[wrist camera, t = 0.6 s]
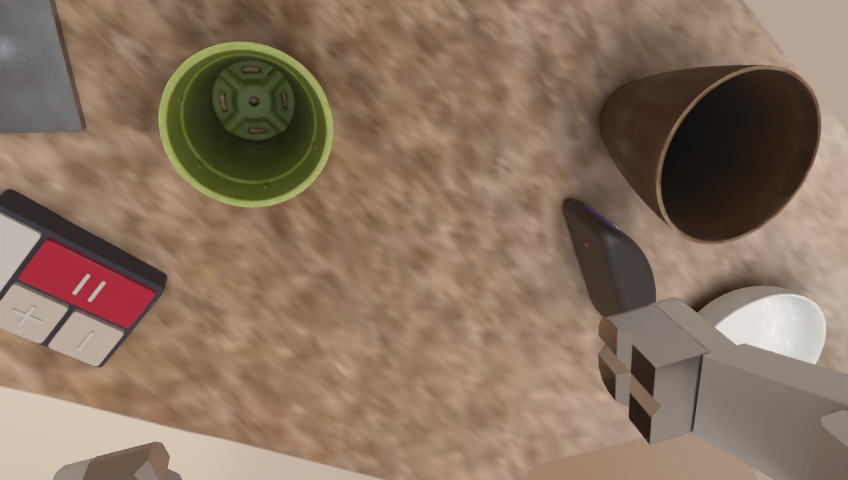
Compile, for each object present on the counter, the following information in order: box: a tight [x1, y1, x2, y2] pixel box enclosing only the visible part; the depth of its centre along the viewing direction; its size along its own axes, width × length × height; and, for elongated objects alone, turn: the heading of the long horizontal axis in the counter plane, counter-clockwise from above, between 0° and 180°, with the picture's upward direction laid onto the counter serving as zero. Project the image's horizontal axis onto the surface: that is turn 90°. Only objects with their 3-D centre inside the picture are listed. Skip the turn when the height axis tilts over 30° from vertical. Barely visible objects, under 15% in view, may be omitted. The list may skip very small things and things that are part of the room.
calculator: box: [0, 189, 167, 367], centre depth 50 cm, size 11×4×15 cm
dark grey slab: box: [564, 200, 656, 318], centre depth 61 cm, size 16×5×9 cm, turn 23°
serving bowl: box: [698, 286, 826, 364], centre depth 73 cm, size 21×21×7 cm
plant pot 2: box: [600, 65, 821, 244], centre depth 51 cm, size 15×15×16 cm
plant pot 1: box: [158, 41, 334, 207], centre depth 44 cm, size 12×12×11 cm
